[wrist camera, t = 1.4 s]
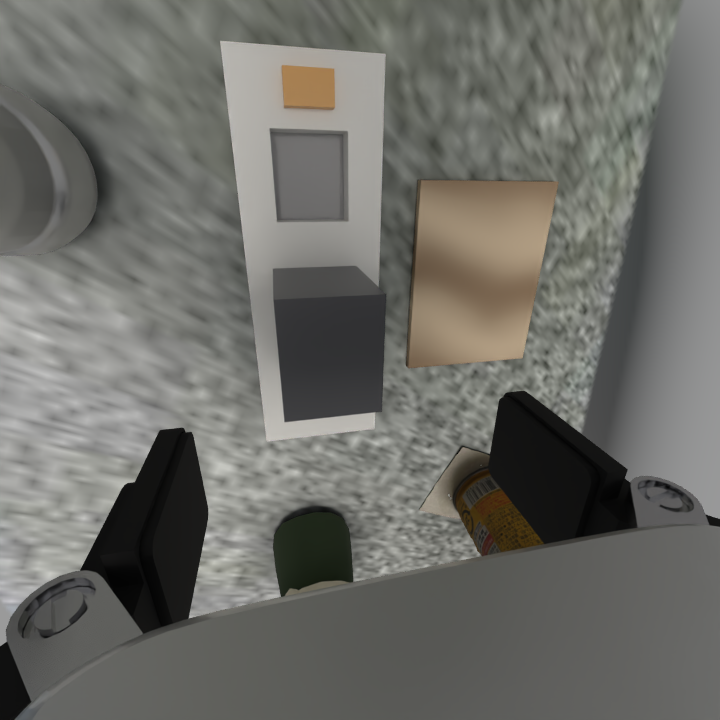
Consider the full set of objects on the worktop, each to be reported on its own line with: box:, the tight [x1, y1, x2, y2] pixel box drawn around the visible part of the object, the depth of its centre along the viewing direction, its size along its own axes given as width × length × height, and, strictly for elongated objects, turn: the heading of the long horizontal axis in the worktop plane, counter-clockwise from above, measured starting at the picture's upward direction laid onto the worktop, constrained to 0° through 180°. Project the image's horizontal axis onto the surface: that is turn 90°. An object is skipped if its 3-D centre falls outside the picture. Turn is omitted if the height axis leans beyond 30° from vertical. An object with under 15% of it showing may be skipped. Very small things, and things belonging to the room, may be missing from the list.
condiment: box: [420, 447, 544, 556], centre depth 29 cm, size 7×8×12 cm
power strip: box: [220, 41, 386, 442], centre depth 21 cm, size 20×7×4 cm, turn 0°
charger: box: [273, 266, 386, 422], centre depth 19 cm, size 6×4×7 cm
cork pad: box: [406, 180, 559, 368], centre depth 25 cm, size 12×9×1 cm
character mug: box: [273, 512, 353, 597], centre depth 26 cm, size 11×7×13 cm, turn 19°
